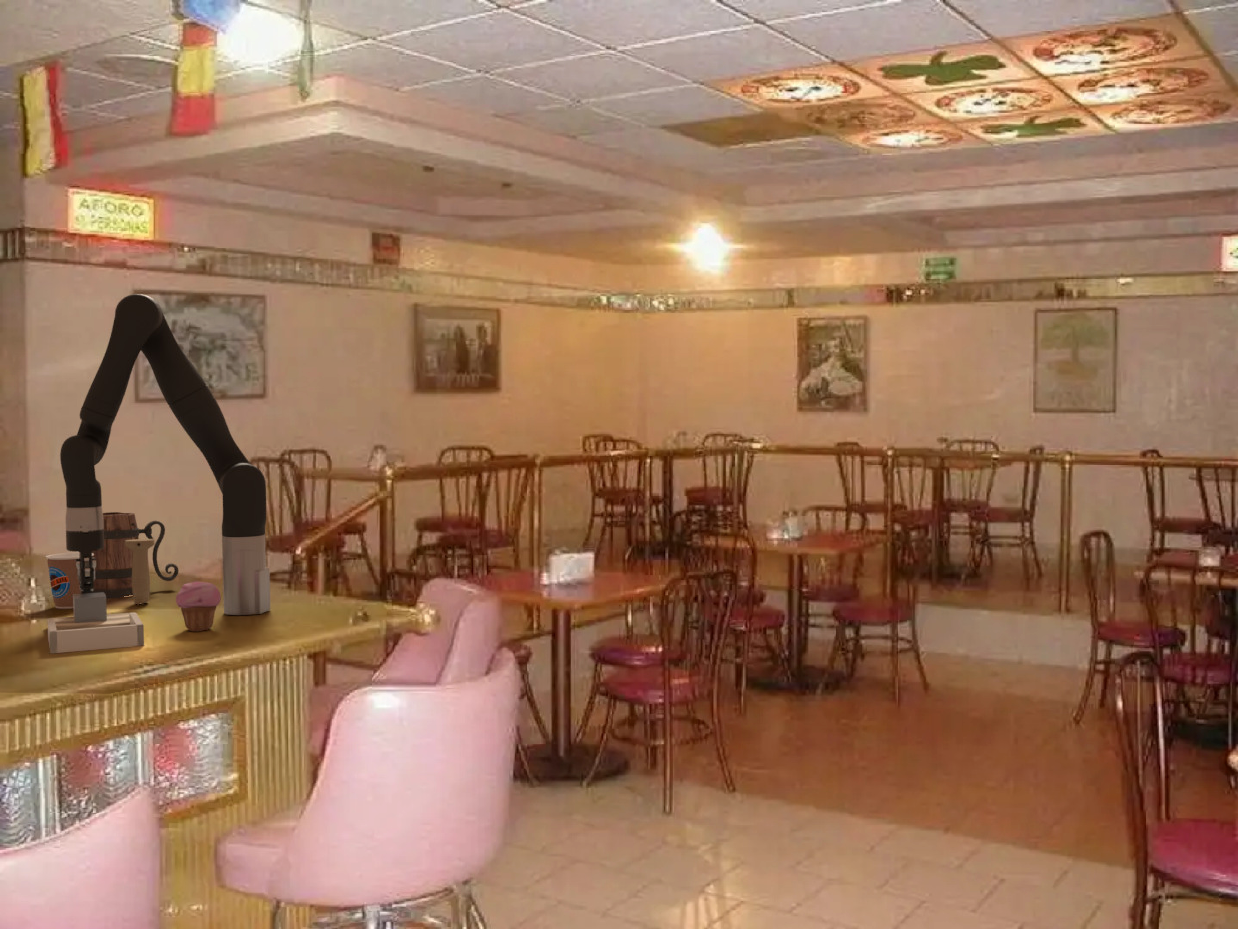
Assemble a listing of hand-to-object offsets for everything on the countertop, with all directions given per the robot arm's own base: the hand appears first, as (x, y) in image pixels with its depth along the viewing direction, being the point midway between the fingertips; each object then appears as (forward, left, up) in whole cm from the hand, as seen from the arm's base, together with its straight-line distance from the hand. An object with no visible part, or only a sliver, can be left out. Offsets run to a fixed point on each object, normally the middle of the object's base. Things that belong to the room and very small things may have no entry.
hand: (87, 608), depth 274 cm
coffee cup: (+15, -20, -3) cm, 25 cm away
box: (-14, +24, -3) cm, 28 cm away
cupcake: (-29, +10, -3) cm, 31 cm away
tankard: (+12, -42, -3) cm, 44 cm away
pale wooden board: (-7, +11, -3) cm, 13 cm away
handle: (0, -24, -3) cm, 24 cm away
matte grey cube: (-6, +10, -1) cm, 11 cm away
